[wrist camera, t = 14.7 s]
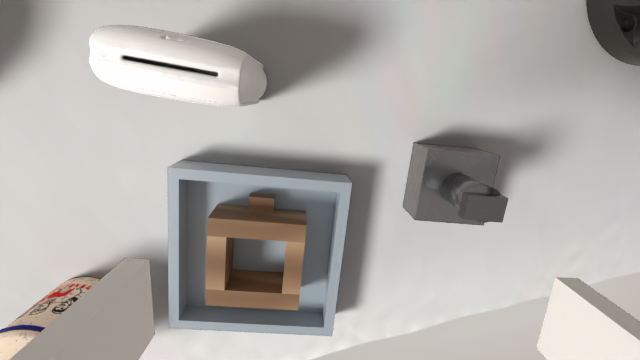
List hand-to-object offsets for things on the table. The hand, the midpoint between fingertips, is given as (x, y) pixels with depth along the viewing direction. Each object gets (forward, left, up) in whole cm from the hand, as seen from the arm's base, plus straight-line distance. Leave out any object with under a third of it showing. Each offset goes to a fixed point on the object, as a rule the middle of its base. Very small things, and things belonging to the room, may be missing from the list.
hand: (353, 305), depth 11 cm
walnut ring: (+5, +10, -23) cm, 26 cm away
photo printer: (+11, -7, -25) cm, 28 cm away
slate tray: (+5, +10, -24) cm, 27 cm away
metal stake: (-13, +1, -24) cm, 28 cm away
